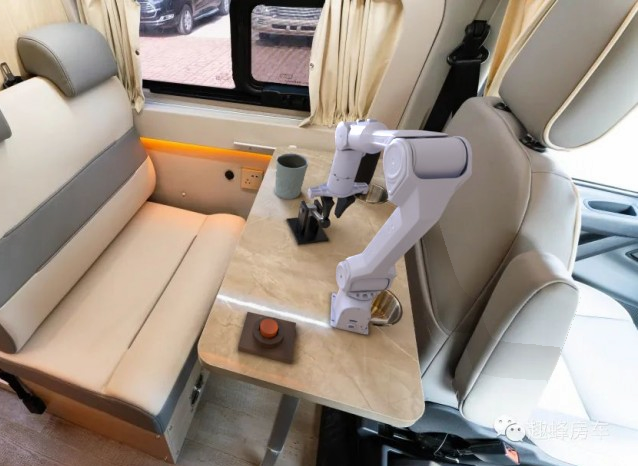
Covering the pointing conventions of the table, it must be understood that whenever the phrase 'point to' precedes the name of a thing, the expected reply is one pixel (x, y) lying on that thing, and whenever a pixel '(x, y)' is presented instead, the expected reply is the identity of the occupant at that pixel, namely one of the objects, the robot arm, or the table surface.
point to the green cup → (290, 175)
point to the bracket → (307, 225)
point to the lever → (318, 216)
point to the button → (268, 328)
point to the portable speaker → (366, 169)
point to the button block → (263, 346)
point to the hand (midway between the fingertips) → (330, 216)
